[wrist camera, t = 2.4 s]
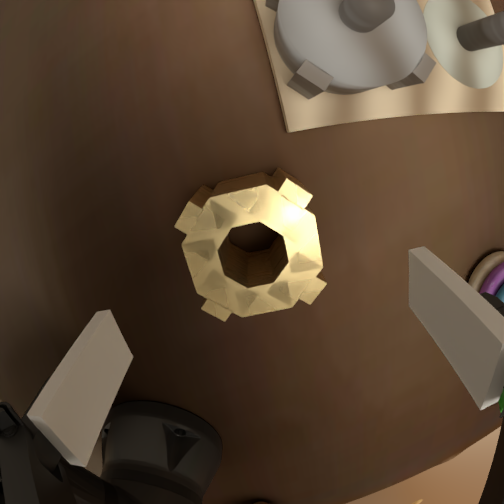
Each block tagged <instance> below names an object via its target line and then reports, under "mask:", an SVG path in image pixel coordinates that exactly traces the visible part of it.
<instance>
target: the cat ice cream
mask: <svg viewBox="0 0 504 504" xmlns="http://www.w3.org/2000/svg"><path fill="white" fill-rule="evenodd" d="M254 504H269V503H267V502H264V501H259V502H256V503H254Z"/></svg>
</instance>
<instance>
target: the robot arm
mask: <svg viewBox="0 0 504 504" xmlns="http://www.w3.org/2000/svg"><path fill="white" fill-rule="evenodd" d="M409 307H410V308H411V309H412V311H413V312H414V313H415V315H416V316H417V317H418V319H419V320H420V322H421V323H422V324H423V326H424V327H425V328H426V330H427V331H428V333H429V334H430V335H431V337H432V338H433V340H434V341H435V342H436V344H437V345H438V347H439V348H440V349H441V351H442V352H443V354H444V355H445V357H446V358H447V360H448V361H449V363H450V364H451V365H452V367H453V368H454V370H455V371H456V373H457V374H458V376H459V377H460V379H461V381H462V382H463V384H464V385H465V387H466V388H467V390H468V391H469V393H470V394H471V396H472V398H473V399H474V401H475V402H476V404H477V406H478V407H479V409H480V410H482V409H484V408H486V407H488V406H490V405H492V404H494V403H496V402H498V401H499V399H500V396H501V394H502V391H503V389H504V303H503V302H502V301H501V300H500V299H499V298H498V297H496V296H494V295H492V294H489V293H487V292H484V293H481V294H479V293H478V292H477V291H476V290H475V289H474V288H472V287H471V286H470V285H469V284H468V283H467V282H466V281H465V280H463V279H462V278H461V277H460V276H459V275H458V274H457V273H455V272H454V271H453V270H452V269H451V268H450V267H448V266H447V265H446V264H445V263H444V262H443V261H441V260H440V259H439V258H438V257H437V256H435V255H434V254H433V253H432V252H430V251H429V250H428V249H427V248H426V247H424V246H423V247H419V248H414V249H410V250H409ZM132 359H133V355H132V354H131V352H130V350H129V348H128V346H127V344H126V342H125V340H124V338H123V336H122V334H121V332H120V330H119V328H118V325H117V323H116V321H115V319H114V317H113V315H112V313H111V310H105V311H98V312H96V314H95V315H94V316H93V318H92V319H91V320H90V322H89V323H88V324H87V326H86V327H85V329H84V330H83V331H82V333H81V334H80V335H79V337H78V338H77V340H76V341H75V342H74V344H73V345H72V347H71V348H70V350H69V351H68V352H67V354H66V355H65V357H64V358H63V360H62V361H61V363H60V364H59V366H58V367H57V368H56V370H55V371H54V373H53V374H52V375H51V376H50V377H49V378H48V379H47V380H46V381H45V383H44V384H43V386H42V387H41V390H40V391H39V392H38V394H37V397H35V398H34V400H33V401H32V403H31V405H30V406H29V408H28V409H27V411H26V413H25V414H24V416H23V417H22V419H21V418H20V417H19V416H18V415H17V413H16V412H15V411H14V409H13V408H12V407H11V406H10V404H9V403H7V402H0V504H202V499H203V496H204V494H205V492H206V490H207V488H208V487H209V485H210V483H211V481H212V479H213V477H214V475H215V473H216V472H217V470H218V468H219V466H220V463H221V457H222V441H221V438H220V436H219V435H218V433H217V432H216V431H215V430H214V429H213V428H212V427H211V426H210V425H209V424H208V423H207V422H205V421H204V420H202V419H201V418H199V417H197V416H195V415H194V414H192V413H189V412H187V411H185V410H182V409H180V408H177V407H174V406H170V405H167V404H162V403H157V402H149V401H132V402H126V403H122V404H119V405H117V406H115V407H114V408H113V409H111V410H110V408H111V405H112V403H113V401H114V399H115V396H116V394H117V392H118V390H119V387H120V385H121V383H122V381H123V378H124V376H125V374H126V372H127V370H128V367H129V365H130V363H131V361H132ZM109 410H110V412H109ZM108 412H109V413H108ZM503 415H504V408H503V410H502V412H501V415H500V418H502V417H503V421H502V426H501V431H500V435H499V439H498V443H497V447H496V451H495V455H494V458H493V462H492V465H491V469H490V472H489V475H488V478H487V481H486V484H485V487H484V490H483V493H482V496H481V498H480V501H479V504H504V416H503ZM106 417H107V418H106ZM105 419H106V420H105ZM103 424H104V425H103ZM102 427H103V428H102ZM101 429H102V467H103V469H102V473H101V476H100V477H98V476H96V475H95V474H93V473H91V472H90V471H88V470H87V469H85V468H83V467H86V466H87V464H88V461H89V458H90V456H91V453H92V451H93V448H94V446H95V444H96V441H97V439H98V436H99V434H100V431H101Z"/></svg>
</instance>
